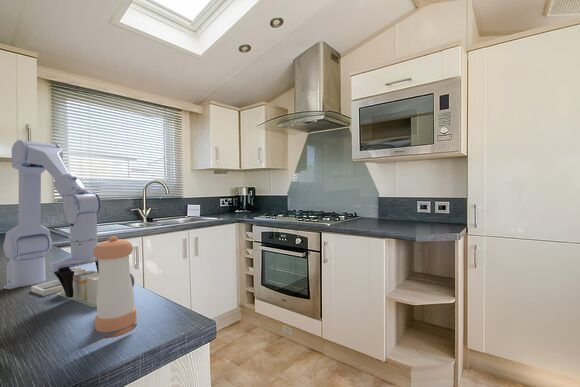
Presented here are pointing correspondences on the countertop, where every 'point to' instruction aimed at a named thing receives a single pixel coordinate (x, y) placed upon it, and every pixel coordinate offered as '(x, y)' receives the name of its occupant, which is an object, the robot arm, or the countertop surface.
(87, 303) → the fuse block
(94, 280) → the block
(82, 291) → the block
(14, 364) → the countertop surface
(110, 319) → the salt shaker
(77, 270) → the left fuse
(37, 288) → the tray
